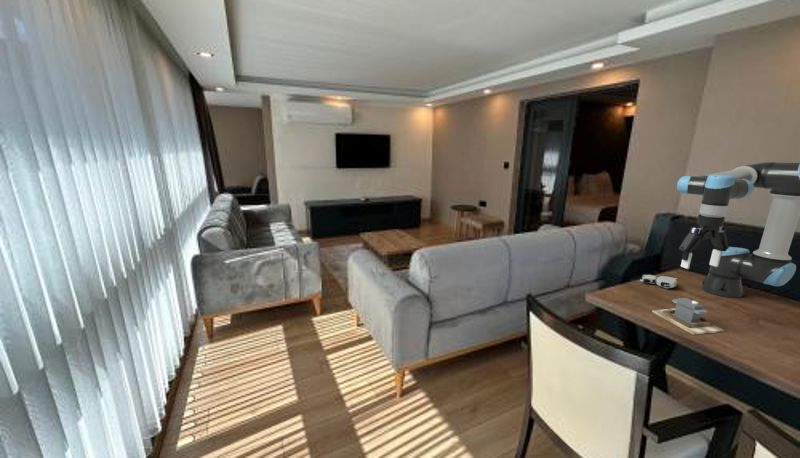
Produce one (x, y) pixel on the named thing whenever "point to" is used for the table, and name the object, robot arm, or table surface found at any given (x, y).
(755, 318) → the table surface
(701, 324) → the pocket board
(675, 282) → the robot toy
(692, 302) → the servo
